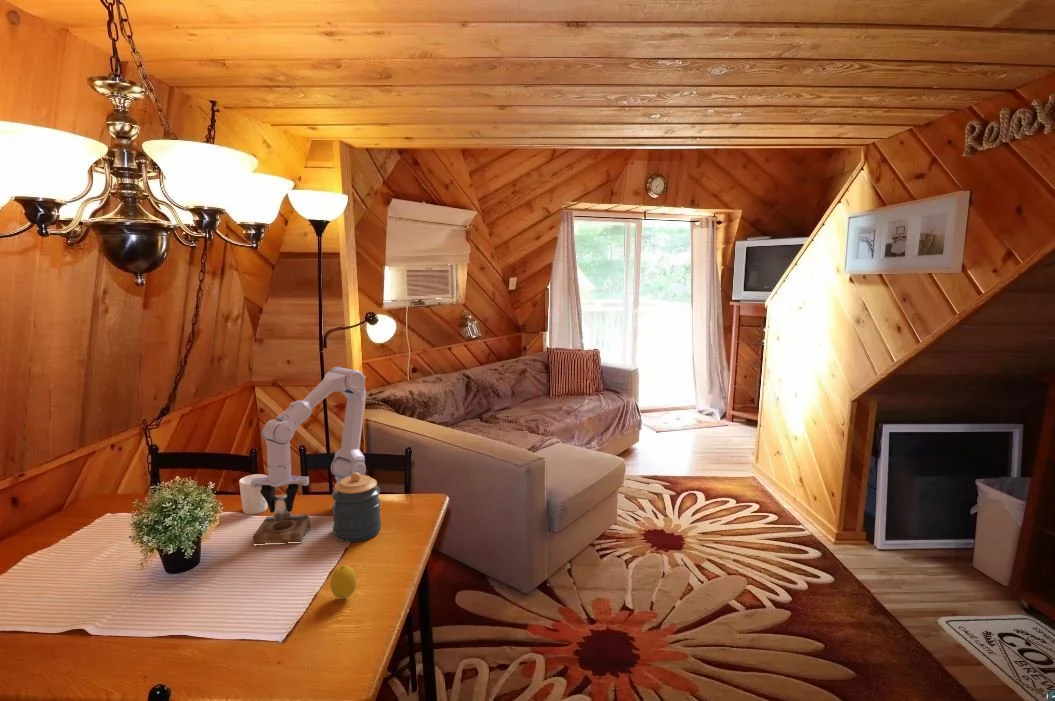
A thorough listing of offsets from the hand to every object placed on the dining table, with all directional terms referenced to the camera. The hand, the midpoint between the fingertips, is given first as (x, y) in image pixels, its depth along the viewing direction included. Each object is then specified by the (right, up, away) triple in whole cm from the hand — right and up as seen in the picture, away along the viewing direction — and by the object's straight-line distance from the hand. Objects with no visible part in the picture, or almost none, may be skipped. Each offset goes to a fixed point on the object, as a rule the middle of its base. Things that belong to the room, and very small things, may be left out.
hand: (281, 510), depth 148 cm
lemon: (+26, -12, -27) cm, 40 cm away
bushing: (0, -2, 0) cm, 2 cm away
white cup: (-16, -5, +17) cm, 23 cm away
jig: (0, -7, +1) cm, 7 cm away
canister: (+20, -8, +4) cm, 21 cm away
